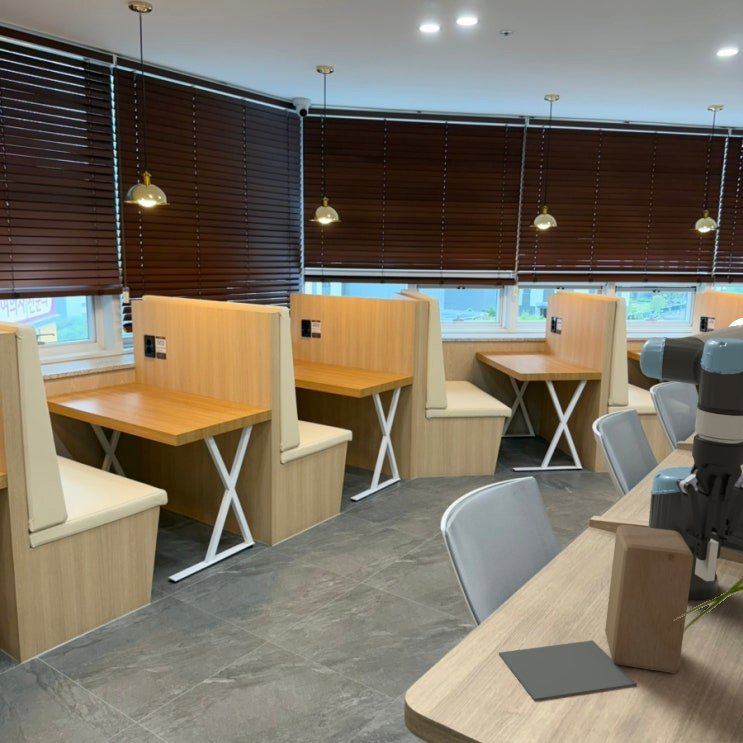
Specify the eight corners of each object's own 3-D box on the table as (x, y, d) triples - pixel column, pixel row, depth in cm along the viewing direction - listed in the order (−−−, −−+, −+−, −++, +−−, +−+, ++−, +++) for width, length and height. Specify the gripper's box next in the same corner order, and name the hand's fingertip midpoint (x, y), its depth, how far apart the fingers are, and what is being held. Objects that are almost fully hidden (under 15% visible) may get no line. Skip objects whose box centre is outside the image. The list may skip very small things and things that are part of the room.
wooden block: (679, 676, 106) (696, 554, 103) (611, 666, 108) (625, 545, 105) (665, 642, 116) (680, 529, 113) (603, 633, 118) (616, 521, 114)
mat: (592, 642, 115) (592, 640, 115) (636, 685, 104) (636, 683, 104) (498, 654, 111) (498, 652, 111) (534, 700, 100) (534, 698, 100)
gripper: (736, 429, 114) (721, 563, 118) (668, 432, 111) (655, 570, 115) (773, 441, 107) (755, 584, 111) (702, 445, 103) (686, 591, 107)
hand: (704, 577), depth 113 cm, fingers closed
